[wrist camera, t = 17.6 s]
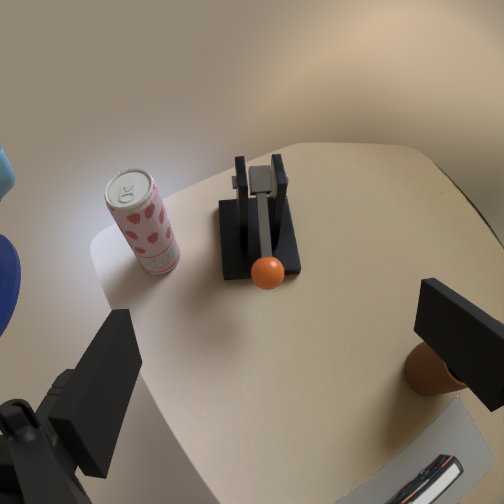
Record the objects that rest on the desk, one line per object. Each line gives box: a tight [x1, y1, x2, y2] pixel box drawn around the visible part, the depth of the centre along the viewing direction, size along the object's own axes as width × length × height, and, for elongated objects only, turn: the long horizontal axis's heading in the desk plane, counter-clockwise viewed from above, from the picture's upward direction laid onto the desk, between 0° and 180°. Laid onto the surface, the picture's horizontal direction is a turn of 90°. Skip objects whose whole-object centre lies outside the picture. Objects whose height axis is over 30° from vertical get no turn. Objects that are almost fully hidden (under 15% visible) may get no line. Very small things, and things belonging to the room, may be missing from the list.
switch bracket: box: [219, 154, 301, 280], centre depth 39 cm, size 12×10×14 cm
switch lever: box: [248, 165, 284, 290], centre depth 34 cm, size 13×4×4 cm, turn 6°
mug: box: [406, 341, 468, 396], centre depth 31 cm, size 12×8×9 cm, turn 89°
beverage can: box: [105, 169, 180, 275], centre depth 37 cm, size 6×6×15 cm
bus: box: [333, 396, 496, 504], centre depth 25 cm, size 14×25×4 cm, turn 122°
